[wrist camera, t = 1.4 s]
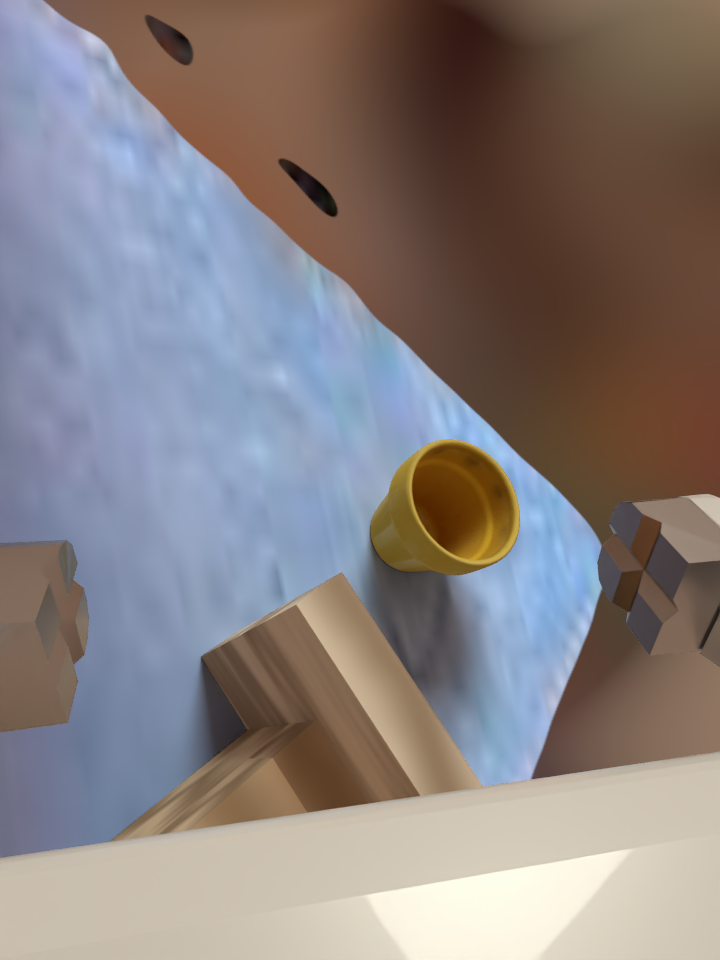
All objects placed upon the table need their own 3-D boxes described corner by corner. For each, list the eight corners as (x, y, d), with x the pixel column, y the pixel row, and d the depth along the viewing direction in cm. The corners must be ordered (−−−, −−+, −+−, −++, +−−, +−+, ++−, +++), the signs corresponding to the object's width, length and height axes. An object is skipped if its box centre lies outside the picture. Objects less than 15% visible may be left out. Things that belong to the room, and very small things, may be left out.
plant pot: (380, 613, 52) (447, 586, 44) (330, 499, 54) (386, 454, 46) (468, 571, 58) (542, 541, 50) (420, 470, 60) (484, 425, 52)
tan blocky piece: (250, 1138, 36) (416, 1395, 21) (29, 774, 38) (44, 782, 23) (420, 920, 45) (621, 997, 30) (235, 632, 46) (341, 572, 32)
